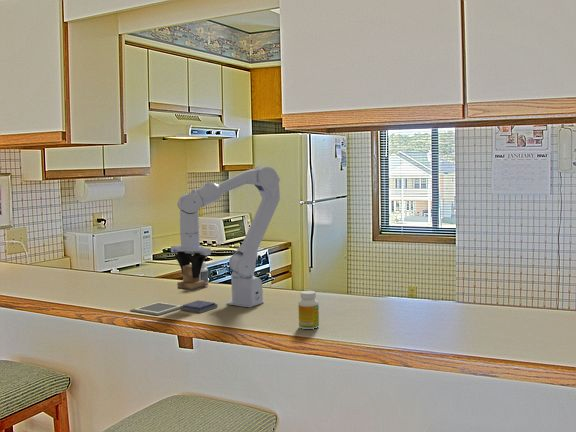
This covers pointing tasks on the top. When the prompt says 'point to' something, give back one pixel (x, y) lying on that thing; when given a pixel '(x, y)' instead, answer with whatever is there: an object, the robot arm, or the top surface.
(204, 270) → the pill bottle
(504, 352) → the top surface
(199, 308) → the ink pad
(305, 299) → the supplement bottle
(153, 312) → the marked square
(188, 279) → the stamp
